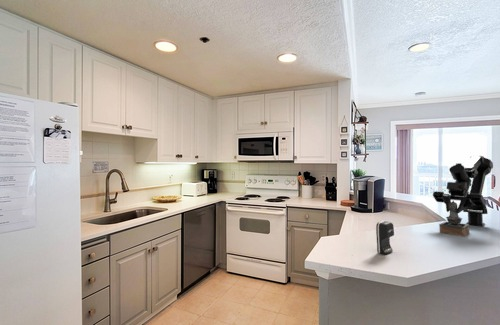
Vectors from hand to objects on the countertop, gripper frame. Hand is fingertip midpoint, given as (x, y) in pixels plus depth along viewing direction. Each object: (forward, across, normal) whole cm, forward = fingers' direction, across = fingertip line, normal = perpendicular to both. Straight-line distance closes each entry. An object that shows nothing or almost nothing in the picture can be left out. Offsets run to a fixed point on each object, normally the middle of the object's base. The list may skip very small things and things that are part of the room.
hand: (452, 212), depth 114 cm
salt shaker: (+4, 0, +6) cm, 7 cm away
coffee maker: (+42, -2, -29) cm, 51 cm away
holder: (+6, 0, +8) cm, 10 cm away
